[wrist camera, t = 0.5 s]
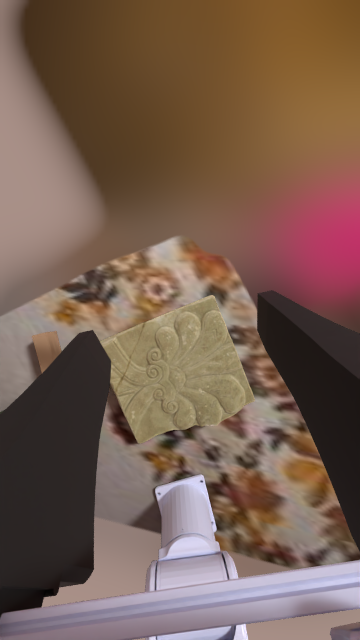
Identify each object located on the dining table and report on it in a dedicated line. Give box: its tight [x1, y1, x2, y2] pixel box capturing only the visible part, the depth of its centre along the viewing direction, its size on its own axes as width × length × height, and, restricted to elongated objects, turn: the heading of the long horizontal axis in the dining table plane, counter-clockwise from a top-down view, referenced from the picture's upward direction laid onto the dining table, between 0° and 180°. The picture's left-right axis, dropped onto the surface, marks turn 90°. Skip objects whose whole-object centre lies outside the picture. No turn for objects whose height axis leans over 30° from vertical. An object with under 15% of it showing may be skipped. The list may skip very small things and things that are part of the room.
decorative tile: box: [100, 295, 255, 443], centre depth 35 cm, size 19×20×4 cm
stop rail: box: [32, 331, 62, 373], centre depth 34 cm, size 22×2×3 cm, turn 14°
